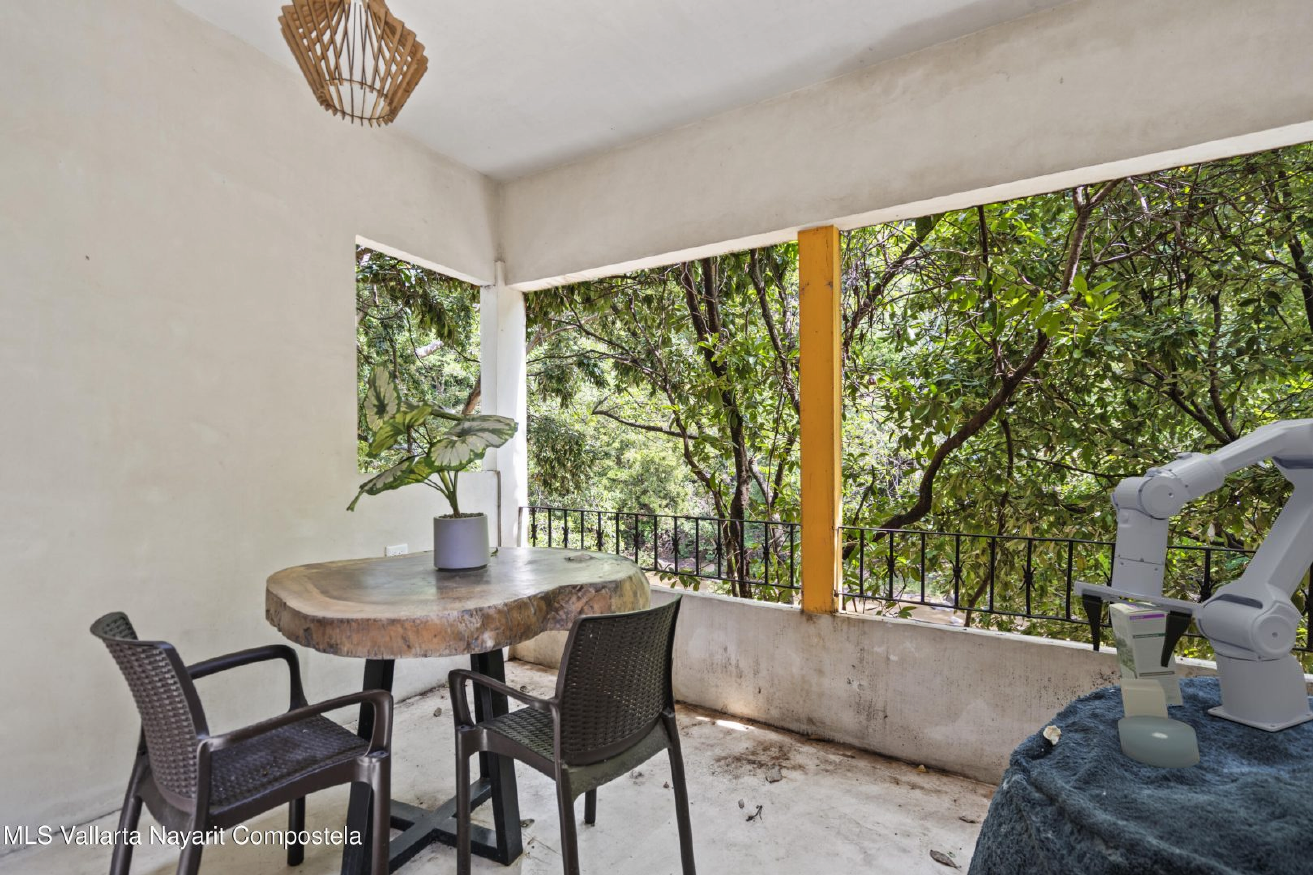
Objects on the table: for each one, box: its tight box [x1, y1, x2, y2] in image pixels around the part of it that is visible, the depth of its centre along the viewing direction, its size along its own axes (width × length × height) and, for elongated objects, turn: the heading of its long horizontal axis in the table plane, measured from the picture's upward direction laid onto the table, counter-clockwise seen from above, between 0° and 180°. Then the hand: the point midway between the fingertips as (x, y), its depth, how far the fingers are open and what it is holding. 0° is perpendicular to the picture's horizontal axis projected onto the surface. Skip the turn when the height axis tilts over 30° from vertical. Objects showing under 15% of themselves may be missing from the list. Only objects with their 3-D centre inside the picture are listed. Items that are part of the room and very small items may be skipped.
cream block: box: [1119, 677, 1169, 718], centre depth 91 cm, size 4×4×6 cm
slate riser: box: [1117, 715, 1201, 769], centre depth 83 cm, size 8×8×4 cm
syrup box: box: [1108, 601, 1184, 706], centre depth 99 cm, size 6×6×14 cm
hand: (1129, 657), depth 90 cm, fingers open, 7 cm apart
